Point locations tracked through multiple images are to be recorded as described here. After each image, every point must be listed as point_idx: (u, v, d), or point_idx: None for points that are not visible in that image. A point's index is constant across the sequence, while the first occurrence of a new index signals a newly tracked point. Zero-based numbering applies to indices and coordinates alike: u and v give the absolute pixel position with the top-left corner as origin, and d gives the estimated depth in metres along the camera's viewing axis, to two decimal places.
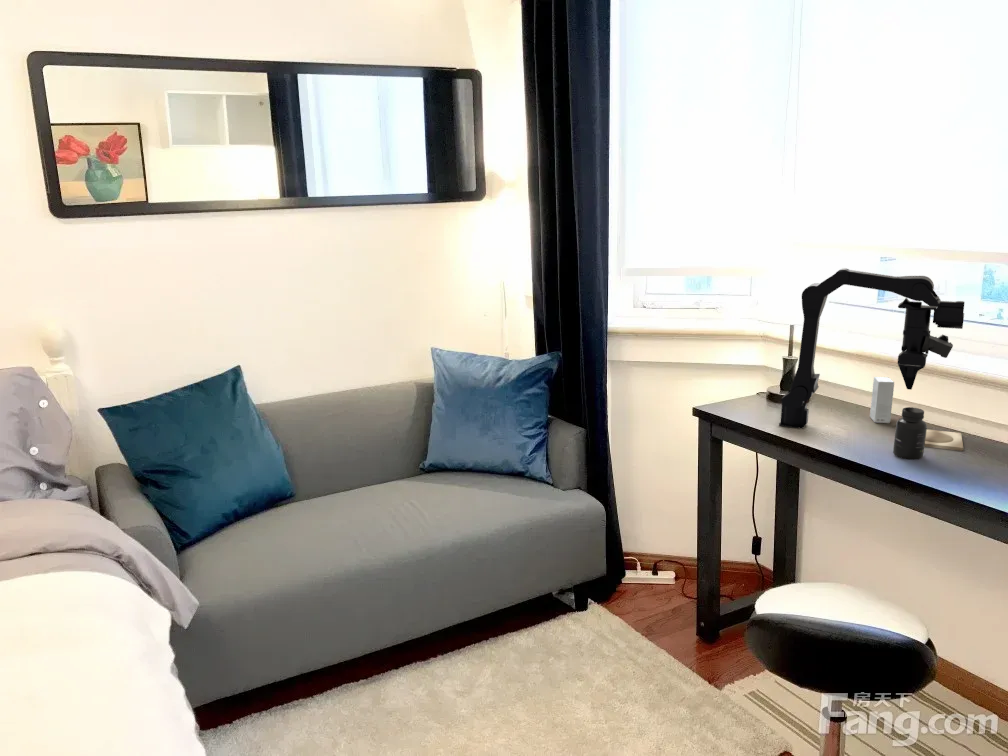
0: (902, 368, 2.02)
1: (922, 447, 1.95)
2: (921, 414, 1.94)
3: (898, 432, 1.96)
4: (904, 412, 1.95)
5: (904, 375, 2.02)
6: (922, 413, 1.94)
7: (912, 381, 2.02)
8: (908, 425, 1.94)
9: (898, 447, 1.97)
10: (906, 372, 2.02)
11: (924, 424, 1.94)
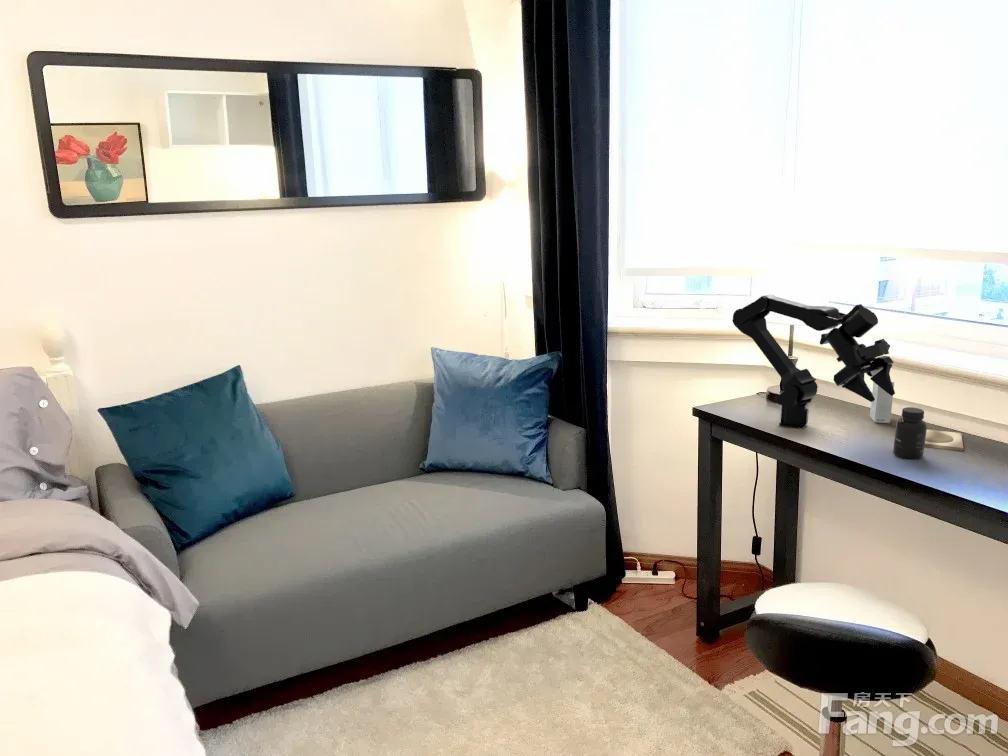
0: (850, 387, 2.01)
1: (922, 447, 1.95)
2: (921, 414, 1.94)
3: (898, 432, 1.96)
4: (904, 412, 1.95)
5: (857, 392, 2.01)
6: (922, 413, 1.94)
7: (867, 392, 1.99)
8: (908, 425, 1.94)
9: (898, 447, 1.97)
10: (856, 388, 2.01)
11: (924, 424, 1.94)
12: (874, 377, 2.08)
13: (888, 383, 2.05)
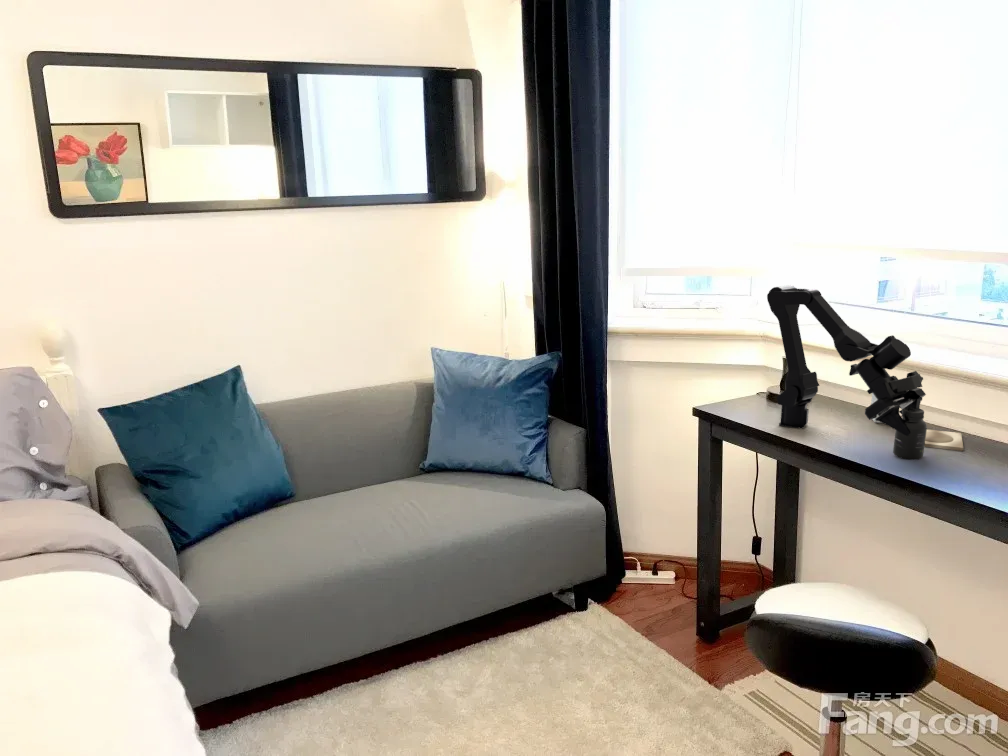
0: (884, 420, 1.96)
1: (922, 447, 1.95)
2: (921, 414, 1.94)
3: (898, 432, 1.96)
4: (904, 412, 1.95)
5: (891, 425, 1.96)
6: (922, 413, 1.94)
7: (902, 426, 1.94)
8: (908, 425, 1.94)
9: (898, 447, 1.97)
10: (890, 422, 1.96)
11: (924, 424, 1.94)
12: None
13: None
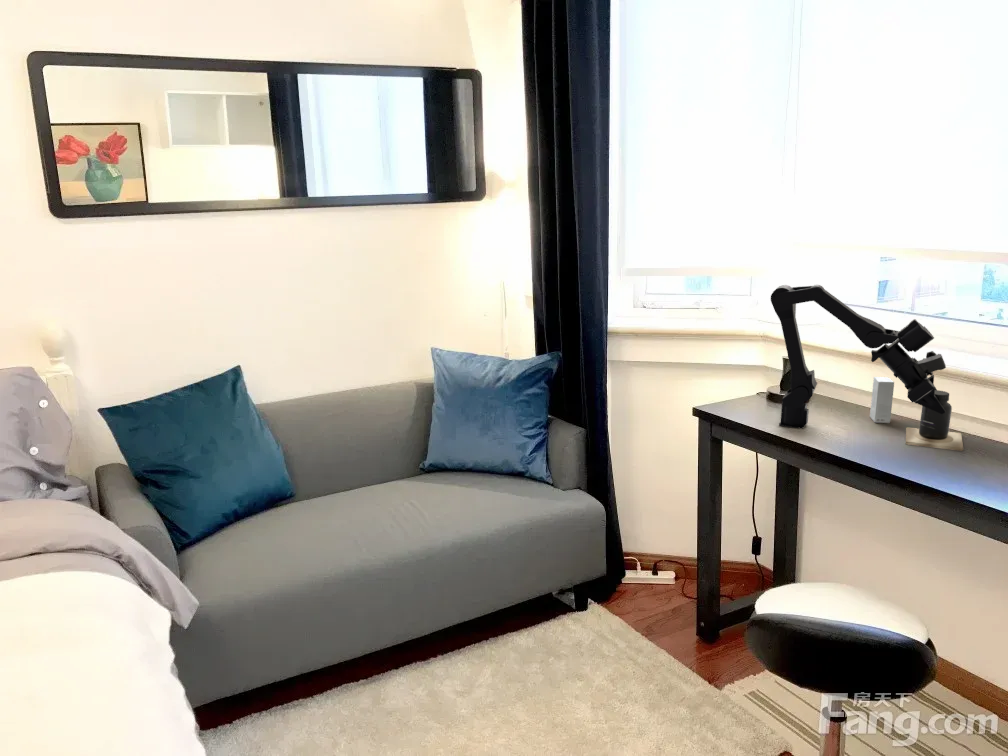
0: (921, 402, 2.03)
1: None
2: (948, 395, 2.06)
3: (929, 415, 2.06)
4: None
5: (928, 406, 2.03)
6: (948, 394, 2.06)
7: (939, 405, 2.02)
8: None
9: (930, 429, 2.07)
10: (927, 402, 2.03)
11: None
12: None
13: None
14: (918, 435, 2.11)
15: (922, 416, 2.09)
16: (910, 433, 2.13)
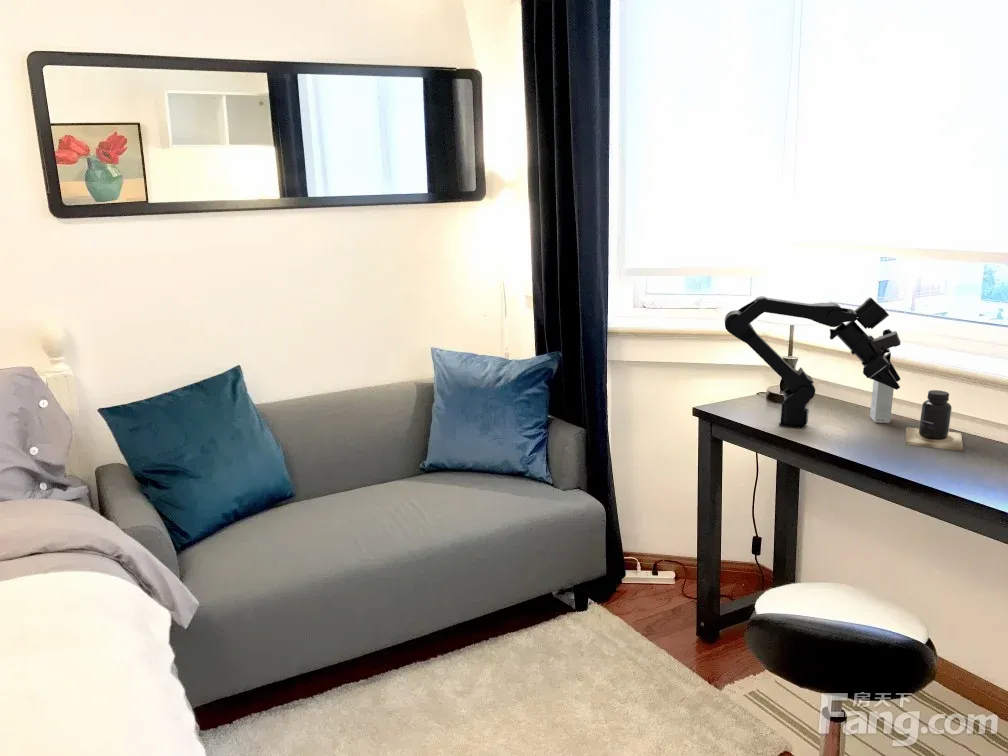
0: (876, 378, 2.09)
1: None
2: (948, 395, 2.06)
3: (929, 415, 2.06)
4: (934, 395, 2.06)
5: (883, 382, 2.09)
6: (948, 394, 2.06)
7: (893, 381, 2.08)
8: (941, 407, 2.05)
9: (930, 429, 2.07)
10: (882, 378, 2.09)
11: None
12: None
13: (893, 370, 2.17)
14: (918, 435, 2.11)
15: (922, 416, 2.09)
16: (910, 433, 2.13)
